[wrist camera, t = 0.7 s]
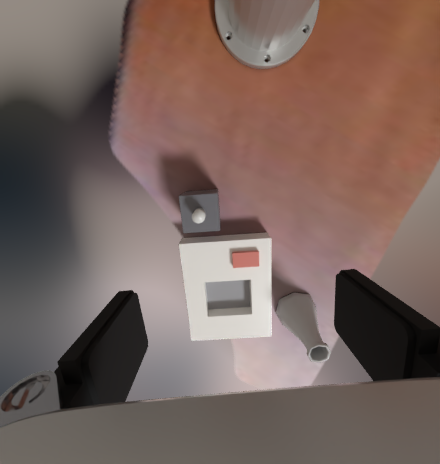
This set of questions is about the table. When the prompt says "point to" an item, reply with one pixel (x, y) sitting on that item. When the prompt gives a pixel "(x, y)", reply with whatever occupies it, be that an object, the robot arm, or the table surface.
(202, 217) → the plug
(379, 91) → the table surface
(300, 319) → the flask
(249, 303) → the socket plate
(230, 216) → the table surface
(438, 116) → the table surface
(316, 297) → the table surface
